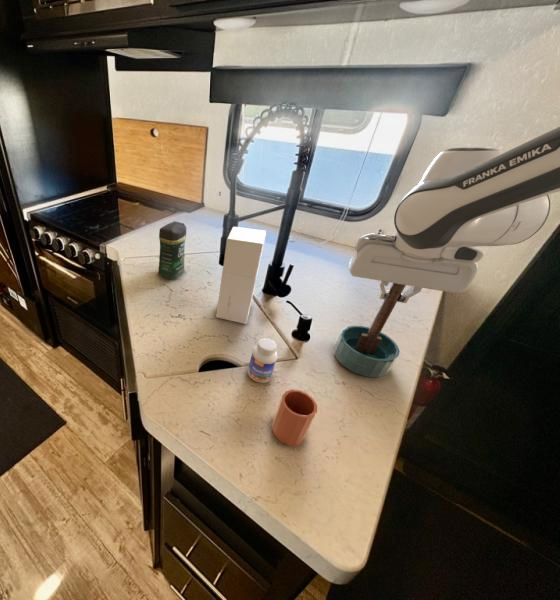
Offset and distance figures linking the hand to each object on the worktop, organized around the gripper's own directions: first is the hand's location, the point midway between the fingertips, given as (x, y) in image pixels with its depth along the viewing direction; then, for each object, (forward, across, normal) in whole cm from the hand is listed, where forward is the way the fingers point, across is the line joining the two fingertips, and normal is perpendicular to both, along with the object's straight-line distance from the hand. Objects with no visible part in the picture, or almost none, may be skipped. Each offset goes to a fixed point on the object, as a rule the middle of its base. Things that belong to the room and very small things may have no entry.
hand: (391, 299), depth 67 cm
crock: (+18, -16, -27) cm, 36 cm away
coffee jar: (+18, -58, +23) cm, 65 cm away
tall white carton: (+19, -33, +8) cm, 39 cm away
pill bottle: (+19, -23, -14) cm, 33 cm away
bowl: (+18, 0, 0) cm, 19 cm away
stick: (+16, 0, 0) cm, 16 cm away
